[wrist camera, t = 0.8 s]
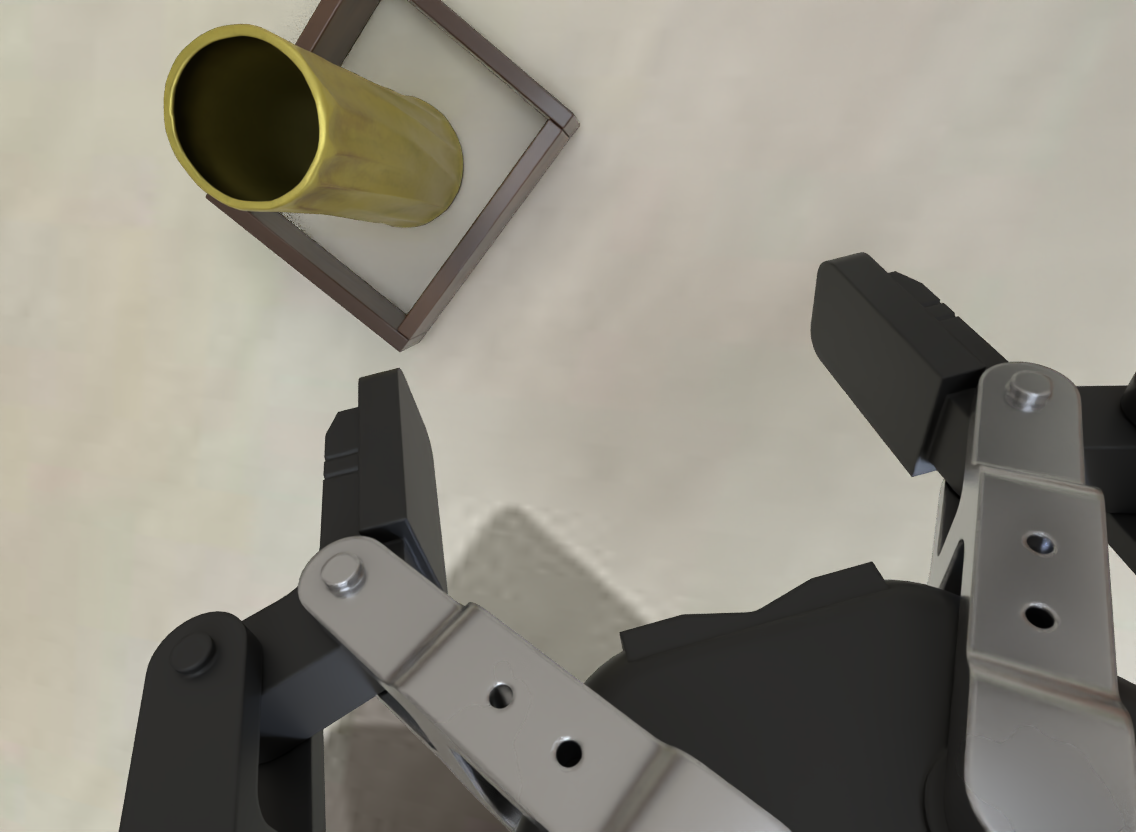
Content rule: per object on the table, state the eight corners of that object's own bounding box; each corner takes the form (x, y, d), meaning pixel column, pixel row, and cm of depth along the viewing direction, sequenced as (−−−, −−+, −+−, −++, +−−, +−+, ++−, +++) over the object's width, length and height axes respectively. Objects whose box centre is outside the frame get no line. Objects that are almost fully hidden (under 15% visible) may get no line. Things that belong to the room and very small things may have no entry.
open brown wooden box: (385, -42, 32) (360, -69, 29) (580, 124, 33) (574, 114, 30) (239, 199, 36) (204, 197, 33) (419, 343, 37) (399, 352, 34)
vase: (422, 252, 35) (281, 266, 22) (321, 179, 35) (114, 146, 21) (487, 147, 34) (381, 91, 20) (383, 69, 33) (201, -43, 20)
